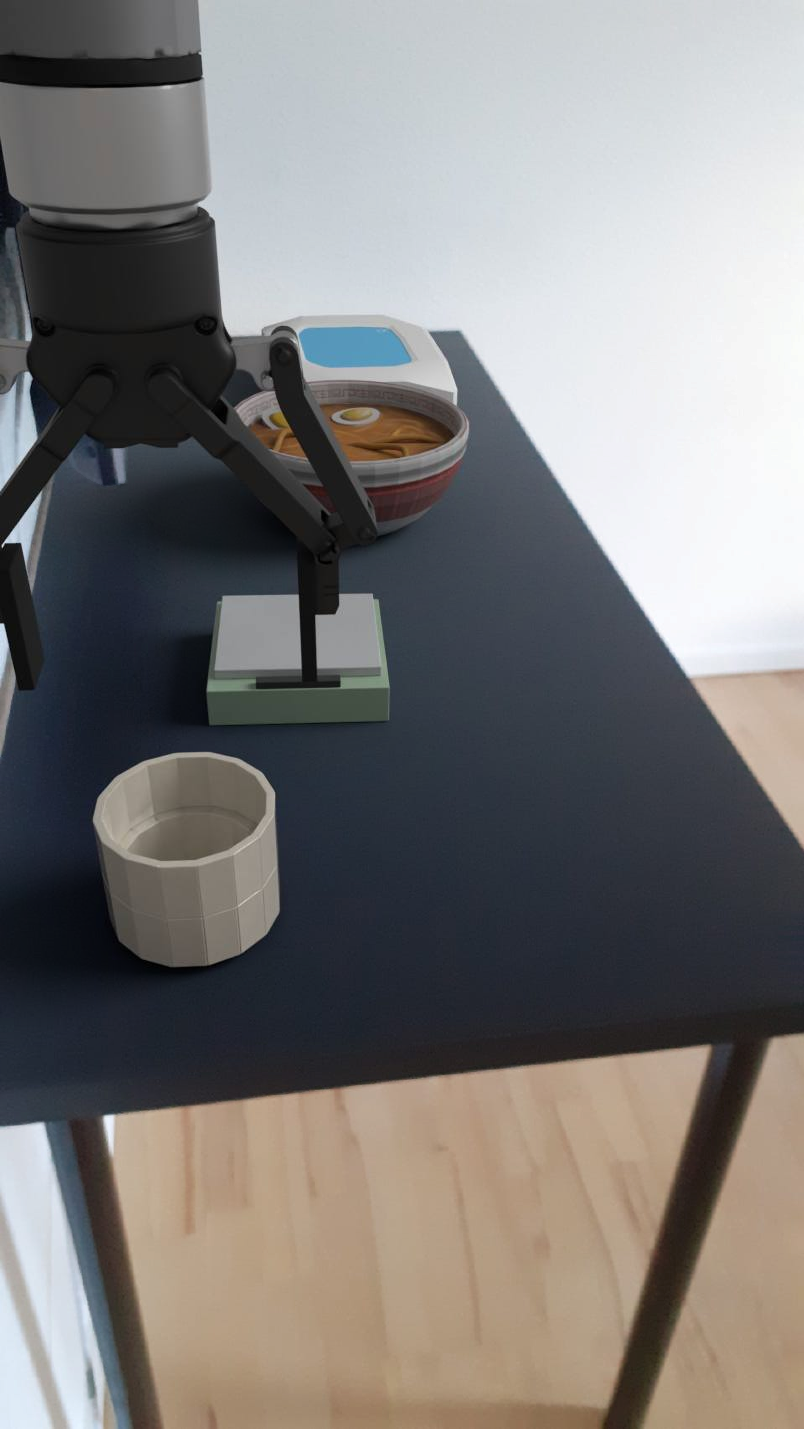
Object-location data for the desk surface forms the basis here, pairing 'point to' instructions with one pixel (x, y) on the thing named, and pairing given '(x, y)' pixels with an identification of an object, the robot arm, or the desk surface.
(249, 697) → the scale
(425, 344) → the document scanner
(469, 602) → the desk surface
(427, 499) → the bowl
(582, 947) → the desk surface
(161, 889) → the faceted beige cup
